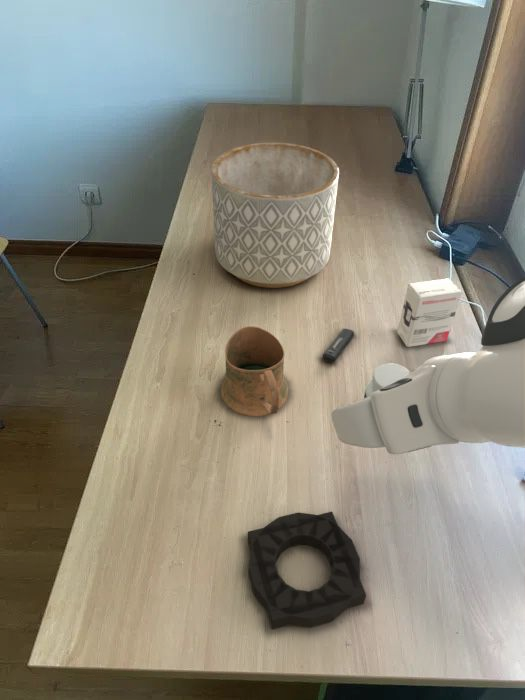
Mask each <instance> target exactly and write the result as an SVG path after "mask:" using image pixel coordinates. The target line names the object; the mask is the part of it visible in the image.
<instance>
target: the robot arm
mask: <svg viewBox="0 0 525 700" xmlns="http://www.w3.org/2000/svg"><path fill="white" fill-rule="evenodd" d="M480 345H481V348H480V349H479V350H478V351H466V352H460V353H459V352H458V353H452V354H446V355H445V354H444V355H437V356H433V357H431V358H429V359H427V360H425V361H424V362H423V363H422V364H420V366H418V367H417V368H415V369H414V370H412V371H411V372H410V373H409V374H408V375H407V376H405V377H404V378H402V379H400V380H398V381H396V382H394V383H392V384H390V385H388V386H386V387H383V388H381V389H380V390H378V391H375V392H373V393H372V394H371V395H370V396H369V397H366V398H364V397H363V398H361V399H359V400H358V399H357V400H356V401H353V402H351V403H348V404H345V405H342V406H339V407H336V408H334V409H333V410H332V411H331V415H330V417H331V422H332V425H333V428H334V432H335V434H336V436H337V438H338V441H340V442H341V443H342V444H345V445H349V446H354V447H360V448H367V449H381V448H385V450H386V451H387V453H388V454H390V455H395V456H397V455H398V456H399V455H403V454H407V453H412V452H415V451H419V450H423V449H428V448H431V447H433V446H434V447H435V446H442V445H457V444H459V443H469V444H484V443H488V442H491V443H492V444H493V443H494V444H496V445H498V446H504V447H511V448H522V449H523V448H525V277H524V278H521V279H520V280H518V281H516V282H515V283H513V284H512V285H511V286H510V287H509V288H507V289H506V290H505V292H503V294H501V295H500V297H499V298H497V300H496V302H495V303H494V305H493V306H492V308H491V311H490V313H489V315H488V318H487V320H486V323H485V326H484V328H483V332H482V335H481V339H480Z"/></svg>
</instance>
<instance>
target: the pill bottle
mask: <svg viewBox="0 0 525 700" xmlns="http://www.w3.org/2000/svg"><path fill="white" fill-rule="evenodd" d="M409 373H411V372H410V370H409V369H408V368H406V367H405V366H403V365H401V364H398V363H392V362H391V363H390V362H389V363H383V364H379V365H378V366H377V367H376V368H375V369H374V371H373V374H372V379H371V380H370V381H369V382H368V383H367V385H366V387H365V389H364V395H363V399H364V398H366V397H369V396H370V395H371V394H372V393H373V392H375V391H378V390H380V389H381V388H383V387H386V386H388V385H390V384H392V383H394V382H396V381H398V380H400V379H402V378H404V377H405V376H407V375H408V374H409Z"/></svg>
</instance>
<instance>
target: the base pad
mask: <svg viewBox="0 0 525 700" xmlns="http://www.w3.org/2000/svg"><path fill="white" fill-rule="evenodd" d="M247 542H248V546H249V550H250V554H249V560H248V577H249V581H250V585H251V588H252V592H253V595H254V597H255V598H256V599H257V600H258V602H259V603H260V605H261V606H262V607H263V609H264V610H265V611H266V612H267V613H266V614H267V616H268V621H269V624H270V627H271V628H270V629H271V630H275V629H278V628H282V627H284V626H285V627H286V626H288V625H289V626H290V625H291V626H296V627H297V626H298V627H303V628H314V627H318V626H321V625H324V624H328V623H331V622H333V621H335V620H336V619H337V618H338V617H339V616H340V615H342V614H343V613H344V612H345V611H346V610H348V609H350V608H353V607H357V606H361V605H364V603H365V601H366V597H367V593H366V591H365V589H364V586H363V583H362V581H361V559H360V555H359V554H358V551H357V549H356V547H355V544H354V541H353V540H352V538H351V537H350V536H349V535H348V534H347V533H346V532H345V531H344V530H343V529H342V528H341V527H340V526H339V524H338V522H337V519H336V517H335V515H334V513H333V511H328V512H324V513H320V514H316V513H315V514H313V513H307V512H294V513H289V514H285V515H281V516H278V517H277V518H275V519H273V520H272V521H271V522H269V523H268V524H266V525H265V526H264V527H262V528H256V529H252V530H249V531H247ZM299 545H303V546H309V547H310V546H311V547H313V548H315V549H316V550H318V551H320V552H321V553H322V554H323V555H324V556H325V557H326V559H327V560H328V562H329V565H330V568H331V575H330V577H329V579H328V580H327V582H326V583H324V584H323V585H321V587H319V588H316V589H312V590H302V589H296V588H294V587H292V586H291V585H289V584H287V583H286V582H285V581H284V579H283V578H282V577H281V576H280V575H279V571H278V568H277V565H276V564H277V561H278V560H279V557H280V556H281V554H282V553H284V551H286V550H287V549H289V548H290V547H294V546H299Z"/></svg>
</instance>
